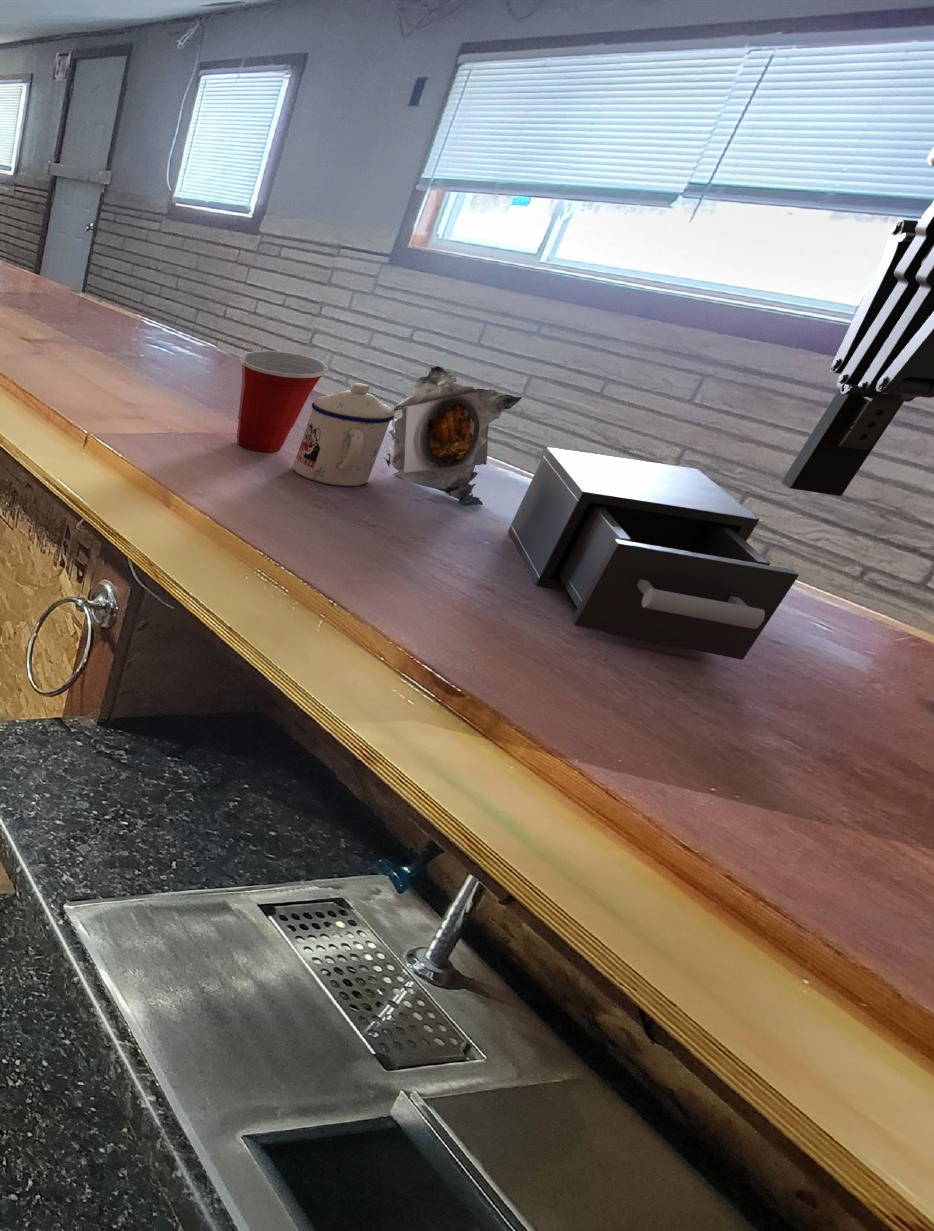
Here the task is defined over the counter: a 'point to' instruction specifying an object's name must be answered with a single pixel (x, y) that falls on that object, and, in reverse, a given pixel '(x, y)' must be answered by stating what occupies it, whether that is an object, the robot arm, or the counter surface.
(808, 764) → the counter surface
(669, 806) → the counter surface
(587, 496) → the small drawer cabinet
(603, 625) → the open drawer unit
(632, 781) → the counter surface
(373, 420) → the teacup with lid
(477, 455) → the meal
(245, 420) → the plastic cup
